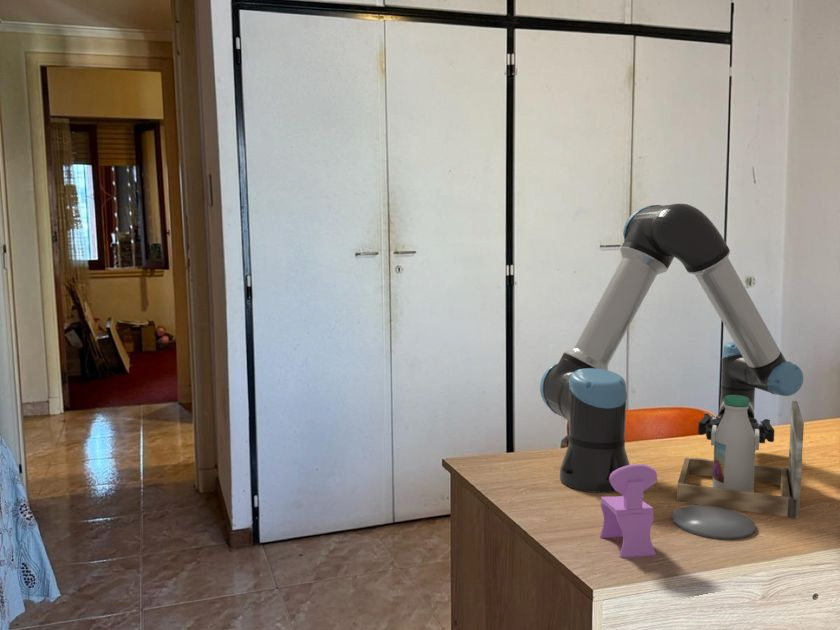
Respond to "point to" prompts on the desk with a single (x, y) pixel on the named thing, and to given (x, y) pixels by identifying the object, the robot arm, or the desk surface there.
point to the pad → (713, 522)
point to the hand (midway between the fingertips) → (734, 441)
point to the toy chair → (630, 510)
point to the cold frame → (763, 474)
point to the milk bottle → (734, 447)
